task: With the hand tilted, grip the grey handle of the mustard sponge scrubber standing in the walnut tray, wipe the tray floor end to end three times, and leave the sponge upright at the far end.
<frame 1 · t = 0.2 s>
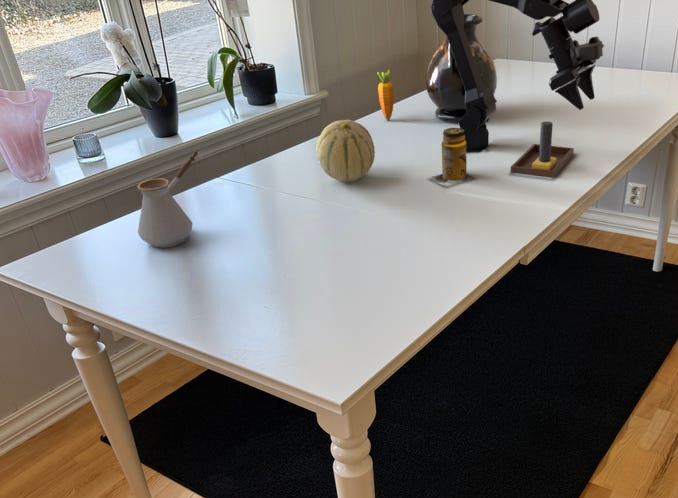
hand: (587, 103, 170), 14 cm above the table, tool tilted 30°, fingers open, 9 cm apart
condiment: (451, 179, 173), on the table
carrot: (388, 121, 216), on the table
tray: (542, 165, 178), on the table
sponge: (544, 169, 174), point 1 cm above the table, touching tray
amphora vase: (461, 117, 216), on the table
cantaloupe: (348, 179, 177), on the table
coffee pot: (183, 231, 156), on the table
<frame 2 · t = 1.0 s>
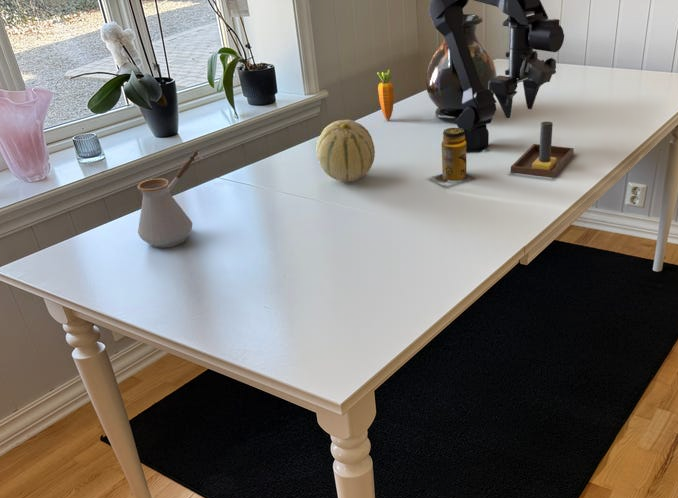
hand: (519, 113, 175), 12 cm above the table, tool pointing down, fingers open, 9 cm apart
nothing on the table moved.
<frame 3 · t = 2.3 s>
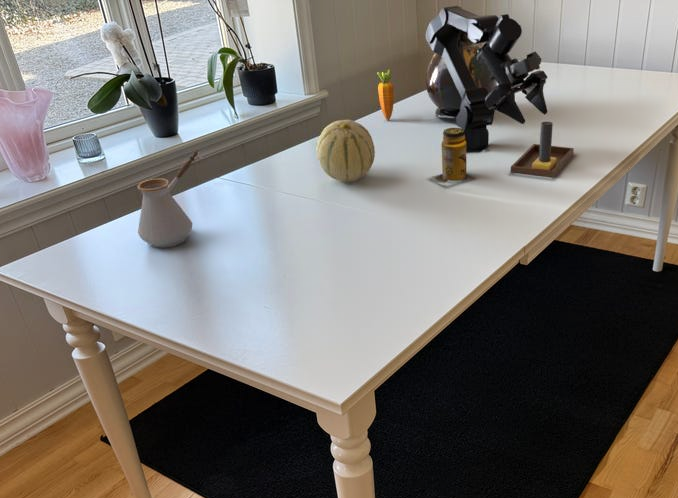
hand: (535, 118, 169), 13 cm above the table, tool tilted 45°, fingers open, 9 cm apart
nothing on the table moved.
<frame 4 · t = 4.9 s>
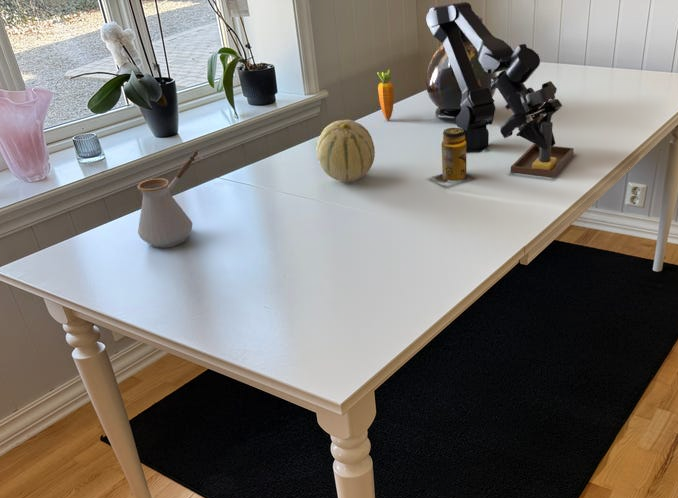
hand: (550, 146, 169), 7 cm above the table, tool tilted 45°, fingers closed on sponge, 3 cm apart
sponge: (544, 169, 174), point 1 cm above the table, touching gripper, tray
everything else where it was.
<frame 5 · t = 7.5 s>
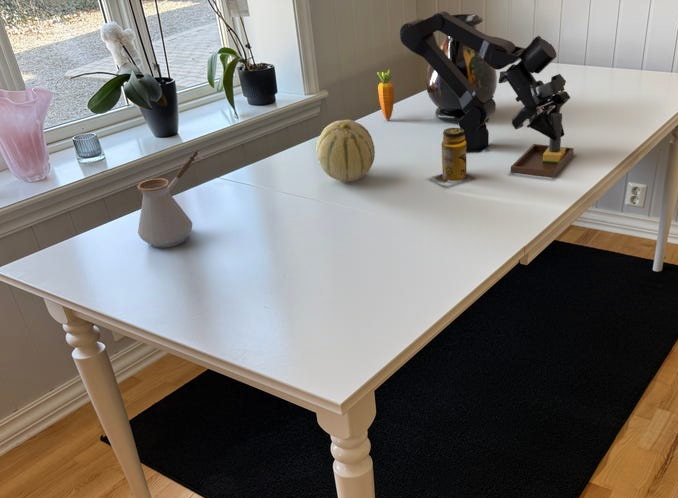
hand: (559, 137, 175), 7 cm above the table, tool tilted 45°, fingers closed on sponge, 3 cm apart
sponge: (554, 159, 179), point 1 cm above the table, touching gripper
everything else where it was.
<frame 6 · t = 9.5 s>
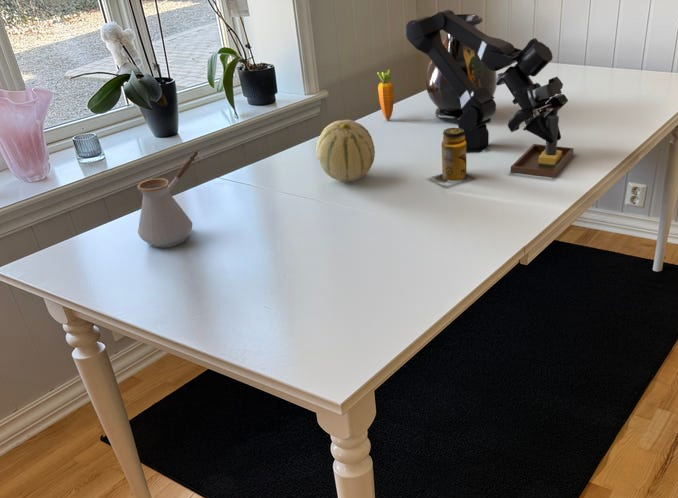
hand: (556, 140, 173), 6 cm above the table, tool tilted 45°, fingers closed on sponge, 3 cm apart
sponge: (549, 162, 178), point 1 cm above the table, touching gripper
everything else where it was.
when the fingers open (6 cm above the table, at t = 10.5 s): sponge stays where it is, resting on tray.
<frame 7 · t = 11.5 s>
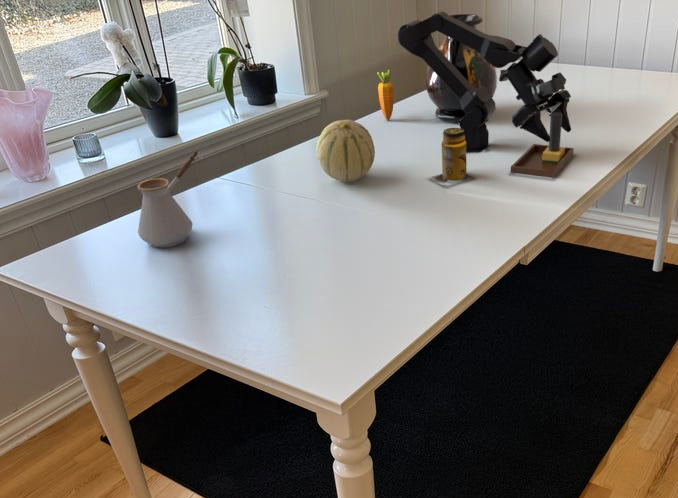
hand: (559, 136, 175), 7 cm above the table, tool tilted 45°, fingers open, 9 cm apart
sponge: (553, 159, 180), point 1 cm above the table, touching tray
everything else where it was.
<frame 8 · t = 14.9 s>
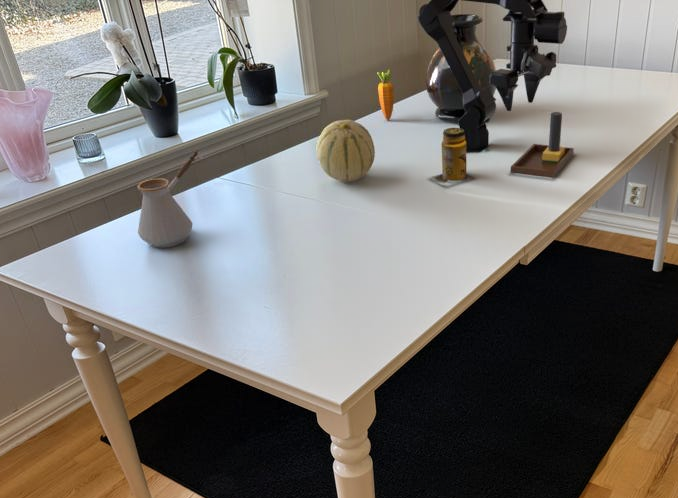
hand: (519, 106, 178), 12 cm above the table, tool pointing down, fingers open, 9 cm apart
nothing on the table moved.
at the end: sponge moved 8.1 cm from its start; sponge 0.3 cm from the target spot in the tray, point 0.6 cm above the tray's base; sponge tilted 0° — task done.
